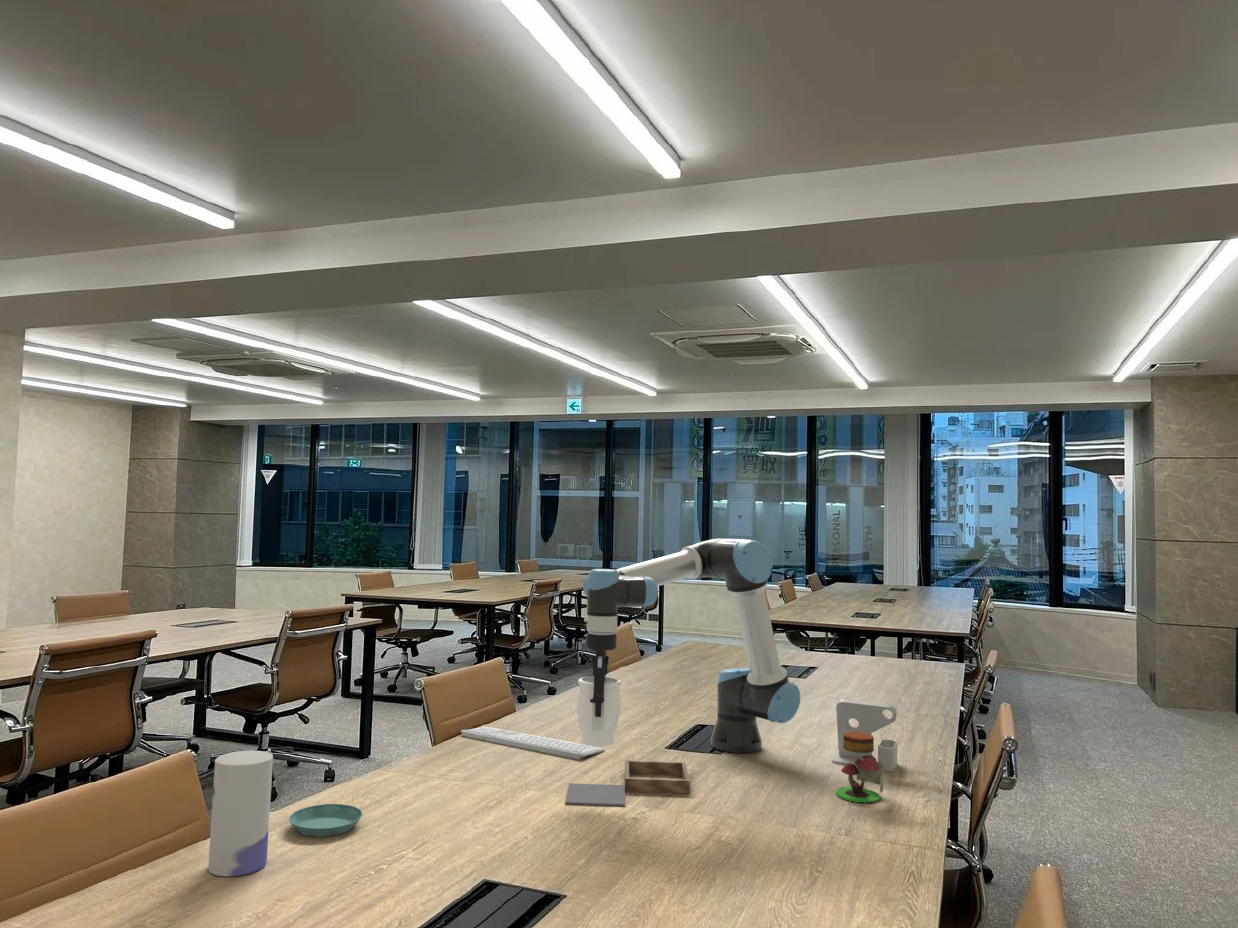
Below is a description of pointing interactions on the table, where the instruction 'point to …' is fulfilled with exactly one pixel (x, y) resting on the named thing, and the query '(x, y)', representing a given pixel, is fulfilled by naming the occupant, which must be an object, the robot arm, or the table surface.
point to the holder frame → (657, 784)
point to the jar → (610, 711)
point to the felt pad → (595, 794)
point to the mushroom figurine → (861, 769)
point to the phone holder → (865, 730)
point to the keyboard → (532, 742)
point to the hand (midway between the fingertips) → (598, 724)
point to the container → (240, 813)
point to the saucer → (325, 819)
